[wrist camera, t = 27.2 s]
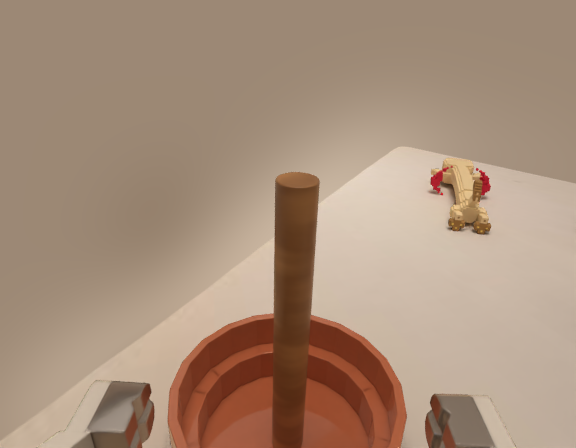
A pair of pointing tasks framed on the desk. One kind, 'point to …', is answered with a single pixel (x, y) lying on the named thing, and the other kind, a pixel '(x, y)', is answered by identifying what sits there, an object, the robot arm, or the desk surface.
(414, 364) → the desk surface
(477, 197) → the cat figure
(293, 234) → the stirring stick
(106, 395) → the robot arm
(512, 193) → the desk surface
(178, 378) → the bowl
